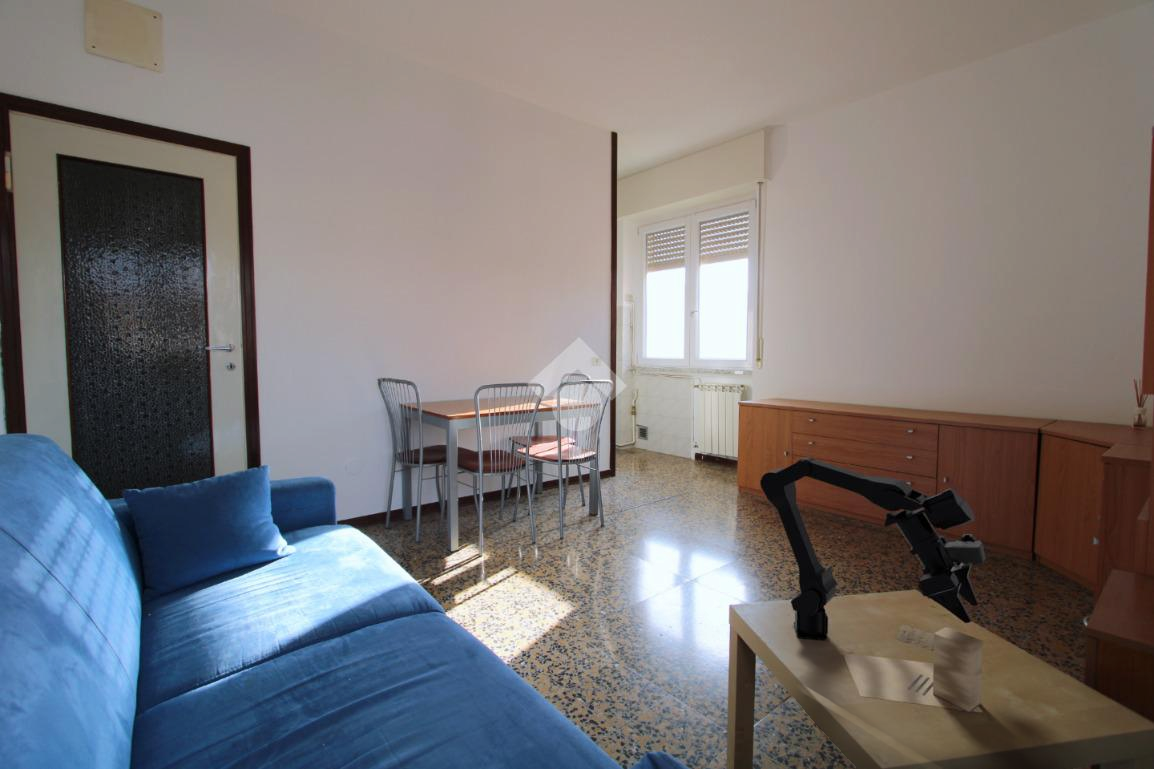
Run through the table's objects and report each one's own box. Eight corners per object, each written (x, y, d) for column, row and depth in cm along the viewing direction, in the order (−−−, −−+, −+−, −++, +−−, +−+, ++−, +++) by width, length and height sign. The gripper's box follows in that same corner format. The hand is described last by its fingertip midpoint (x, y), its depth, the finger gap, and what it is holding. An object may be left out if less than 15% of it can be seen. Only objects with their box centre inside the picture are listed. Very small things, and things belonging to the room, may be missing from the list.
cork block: (933, 694, 101) (934, 633, 100) (945, 686, 103) (946, 626, 102) (969, 712, 96) (970, 648, 95) (981, 704, 98) (982, 640, 97)
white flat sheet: (860, 702, 101) (860, 696, 101) (842, 658, 115) (842, 652, 115) (982, 718, 96) (983, 712, 96) (947, 670, 110) (948, 664, 110)
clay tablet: (946, 670, 111) (946, 657, 111) (891, 652, 118) (891, 641, 118) (955, 641, 122) (955, 630, 122) (904, 627, 129) (904, 616, 129)
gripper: (954, 536, 97) (1012, 621, 92) (970, 513, 111) (1022, 586, 106) (896, 555, 104) (947, 636, 99) (918, 532, 118) (963, 601, 113)
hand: (972, 613), depth 104 cm, fingers open, 9 cm apart
